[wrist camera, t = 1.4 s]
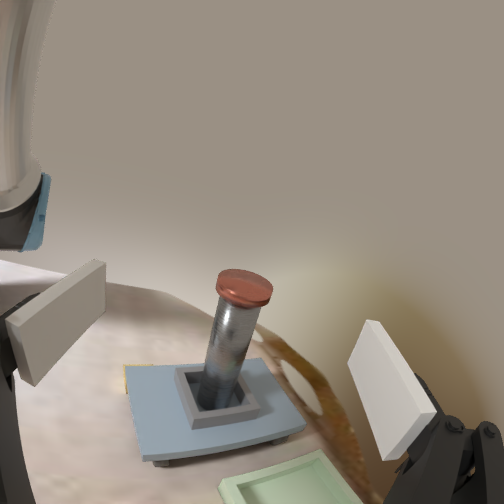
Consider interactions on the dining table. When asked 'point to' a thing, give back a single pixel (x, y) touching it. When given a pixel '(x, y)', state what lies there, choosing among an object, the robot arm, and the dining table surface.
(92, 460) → the dining table surface
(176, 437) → the cart
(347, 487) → the tray
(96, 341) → the dining table surface
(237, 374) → the pin
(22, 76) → the robot arm
